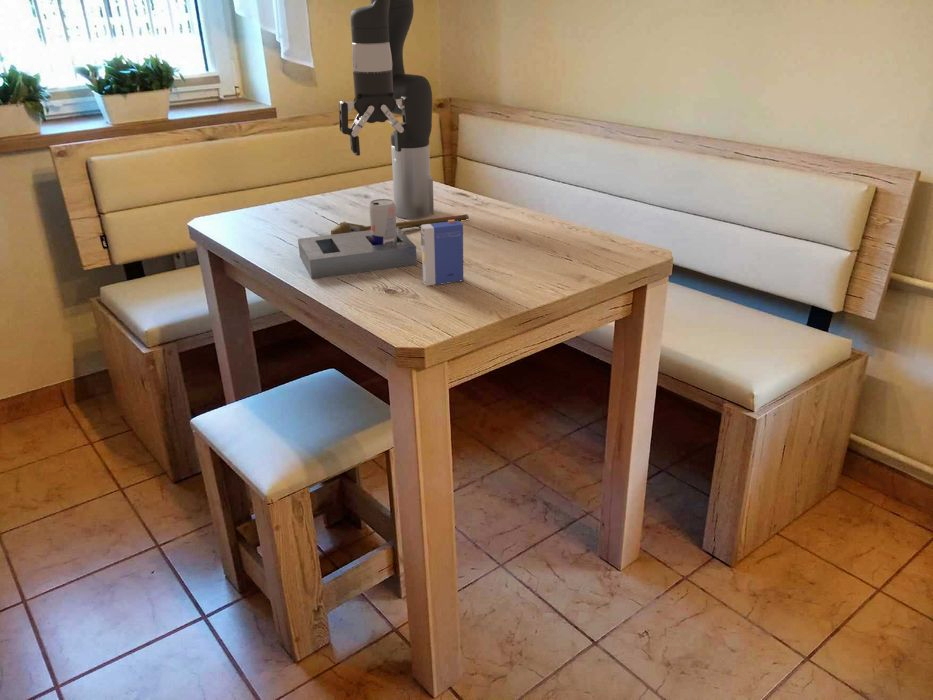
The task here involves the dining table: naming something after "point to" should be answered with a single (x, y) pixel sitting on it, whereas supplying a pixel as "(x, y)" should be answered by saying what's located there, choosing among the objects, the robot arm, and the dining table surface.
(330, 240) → the socket plate
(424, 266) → the walkman
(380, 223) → the energy drink
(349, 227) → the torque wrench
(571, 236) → the dining table surface
